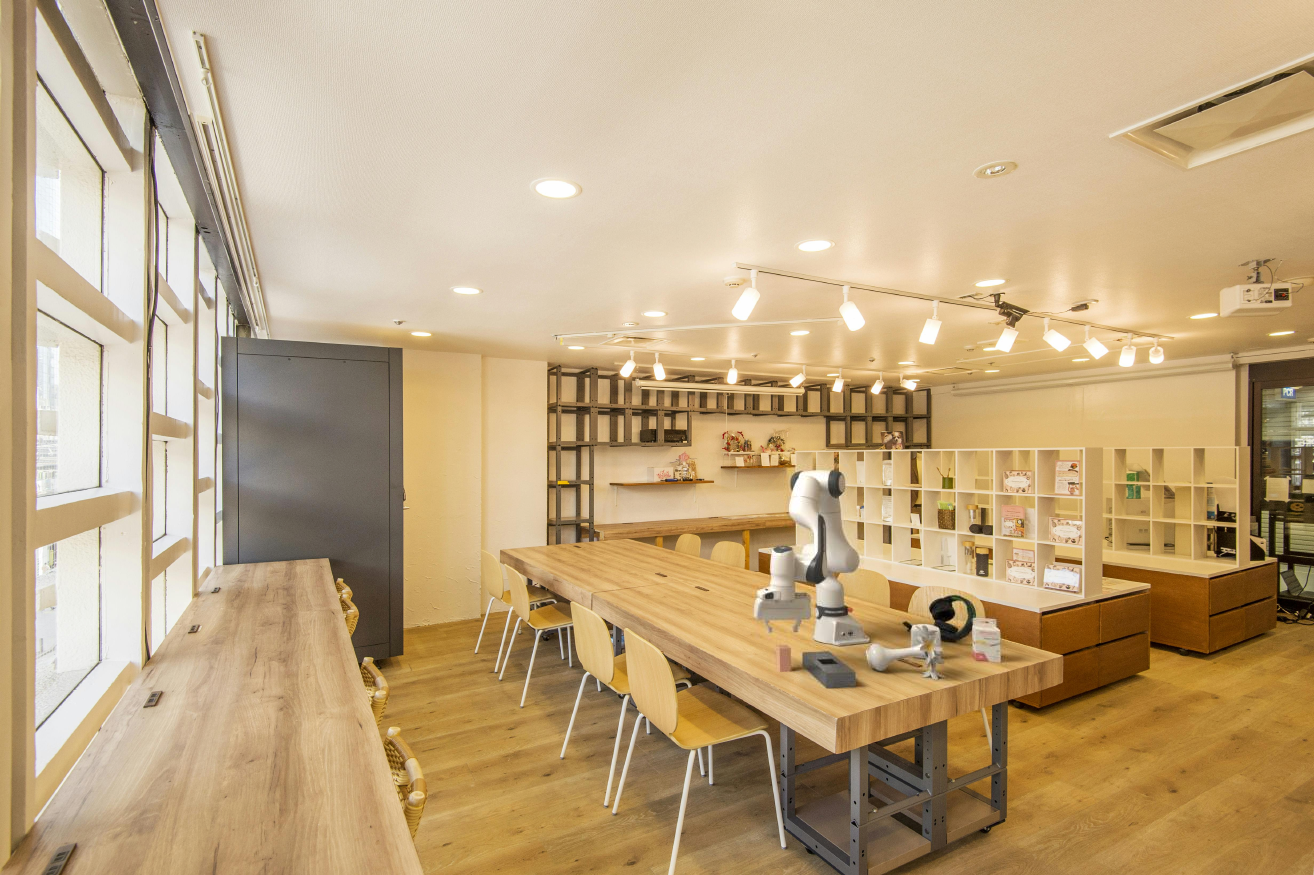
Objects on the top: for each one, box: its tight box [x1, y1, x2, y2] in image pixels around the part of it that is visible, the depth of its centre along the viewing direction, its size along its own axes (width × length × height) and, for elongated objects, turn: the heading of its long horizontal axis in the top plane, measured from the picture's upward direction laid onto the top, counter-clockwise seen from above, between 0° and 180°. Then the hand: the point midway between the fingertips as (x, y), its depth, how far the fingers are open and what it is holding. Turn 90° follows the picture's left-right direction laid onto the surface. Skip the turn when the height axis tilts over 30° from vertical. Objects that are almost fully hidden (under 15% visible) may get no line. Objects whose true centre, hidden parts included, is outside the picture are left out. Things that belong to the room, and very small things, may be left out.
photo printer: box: [910, 623, 942, 660], centre depth 231 cm, size 10×4×12 cm, turn 73°
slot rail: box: [801, 650, 857, 689], centre depth 212 cm, size 10×22×5 cm, turn 7°
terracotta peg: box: [775, 644, 792, 673], centre depth 218 cm, size 4×4×8 cm
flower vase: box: [865, 625, 946, 681], centre depth 215 cm, size 13×18×25 cm
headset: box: [902, 594, 977, 642], centre depth 255 cm, size 18×14×29 cm
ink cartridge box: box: [971, 617, 1002, 663], centre depth 228 cm, size 9×5×15 cm, turn 76°
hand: (782, 632), depth 218 cm, fingers open, 8 cm apart
